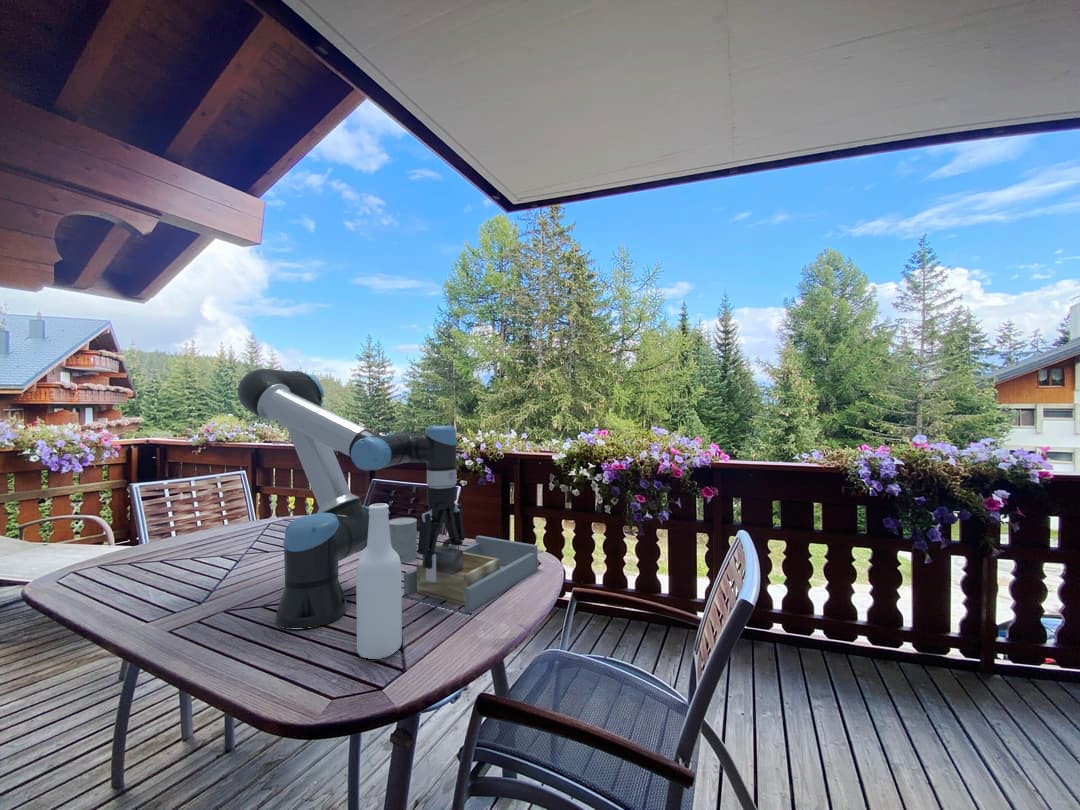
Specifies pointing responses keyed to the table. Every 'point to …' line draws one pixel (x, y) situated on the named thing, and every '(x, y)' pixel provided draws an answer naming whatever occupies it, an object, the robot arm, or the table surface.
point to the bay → (517, 567)
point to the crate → (454, 573)
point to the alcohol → (379, 590)
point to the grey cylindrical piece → (404, 537)
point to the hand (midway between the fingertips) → (442, 574)
